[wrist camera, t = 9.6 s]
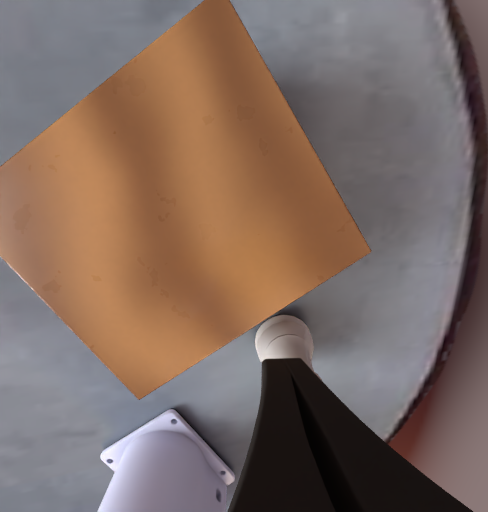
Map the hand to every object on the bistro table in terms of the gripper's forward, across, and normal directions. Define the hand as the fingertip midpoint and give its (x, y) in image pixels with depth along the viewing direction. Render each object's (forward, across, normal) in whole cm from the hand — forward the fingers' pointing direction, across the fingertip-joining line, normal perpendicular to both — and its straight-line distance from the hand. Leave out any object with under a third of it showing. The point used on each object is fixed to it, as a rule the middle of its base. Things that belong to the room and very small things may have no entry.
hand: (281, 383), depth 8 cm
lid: (+5, +4, -5) cm, 8 cm away
